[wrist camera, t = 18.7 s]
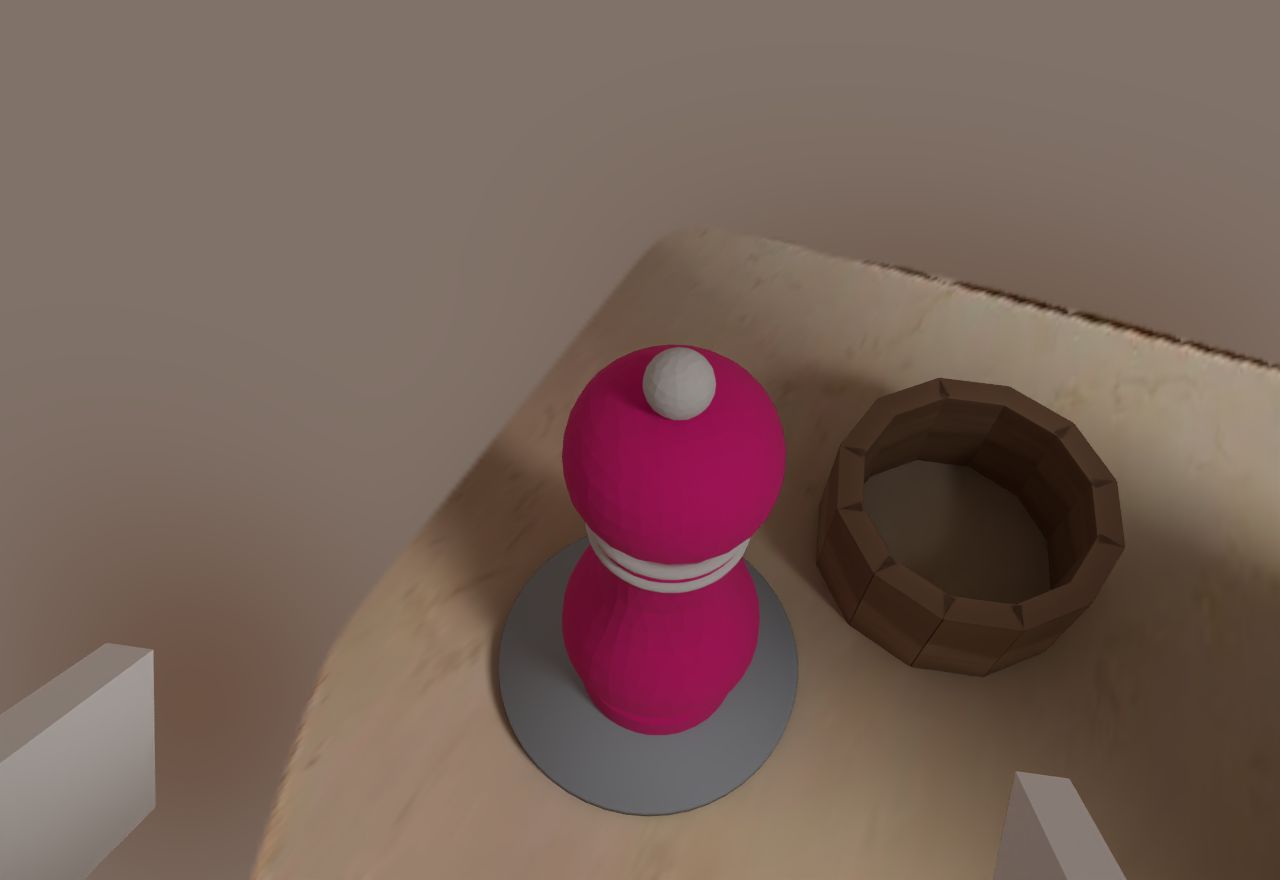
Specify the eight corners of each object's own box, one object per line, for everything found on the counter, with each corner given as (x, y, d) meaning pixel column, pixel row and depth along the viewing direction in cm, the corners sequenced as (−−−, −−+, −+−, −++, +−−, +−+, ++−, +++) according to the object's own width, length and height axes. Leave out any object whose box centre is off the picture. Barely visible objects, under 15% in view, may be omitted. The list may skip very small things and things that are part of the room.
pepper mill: (563, 582, 43) (523, 255, 26) (734, 570, 43) (806, 239, 26) (571, 757, 39) (531, 508, 22) (759, 741, 39) (863, 485, 22)
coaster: (851, 639, 42) (854, 634, 42) (677, 885, 37) (678, 883, 36) (624, 482, 46) (624, 475, 45) (437, 685, 41) (435, 680, 40)
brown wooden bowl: (1115, 532, 45) (1166, 476, 41) (998, 727, 40) (1043, 686, 36) (899, 403, 48) (925, 339, 44) (768, 568, 44) (784, 514, 39)
